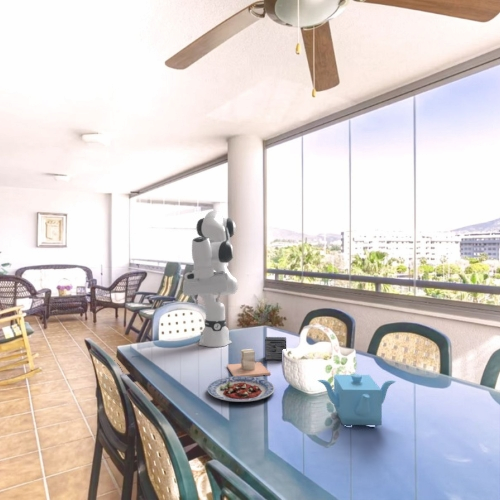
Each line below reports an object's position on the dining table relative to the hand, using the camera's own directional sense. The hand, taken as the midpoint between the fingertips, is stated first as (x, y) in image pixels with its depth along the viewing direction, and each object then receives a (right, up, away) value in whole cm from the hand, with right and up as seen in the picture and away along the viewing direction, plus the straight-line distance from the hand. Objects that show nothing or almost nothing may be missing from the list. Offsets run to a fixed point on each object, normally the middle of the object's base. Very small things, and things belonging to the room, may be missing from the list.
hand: (206, 303), depth 177 cm
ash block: (+19, -29, -1) cm, 35 cm away
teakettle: (+54, -31, -52) cm, 81 cm away
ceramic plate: (+16, -31, -27) cm, 44 cm away
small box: (+32, -30, +17) cm, 47 cm away
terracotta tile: (+19, -30, -1) cm, 36 cm away
